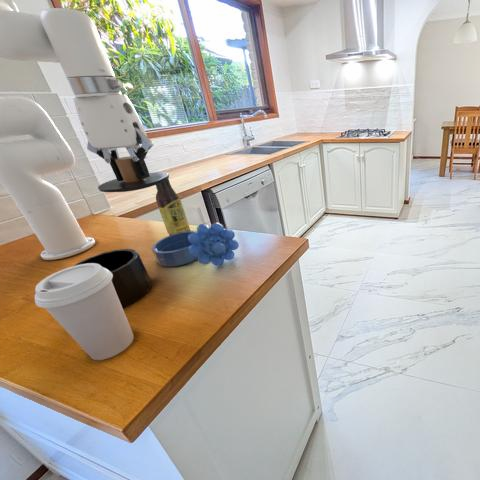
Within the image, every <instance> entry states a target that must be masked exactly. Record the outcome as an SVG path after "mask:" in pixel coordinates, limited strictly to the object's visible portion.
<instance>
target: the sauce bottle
mask: <svg viewBox="0 0 480 480" xmlns="http://www.w3.org/2000/svg"><path fill="white" fill-rule="evenodd" d="M161 172H162V173H167V172H166V171H164V172H163V171H161ZM155 188H156V194H155V201H156V204H157V207H158V210H159V213H160V216H161V218H162V221H163V224H164V227H165V229H166V232H167V234H168V236H170V235H173V234H176V233H180V232H185V231H191V228H190V224H189V222H188V218H187V214H186V212H185V210H184V206H183V204H182V200H181V198H180V196H179V195H178V194H177V192H176V191H175V190H174V188H173V187H172V185H171V182H170V178H168V179H167V180H165V181H163V182H161V183H158V184H156V185H155Z"/></svg>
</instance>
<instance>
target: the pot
mask: <svg viewBox="0 0 480 480" xmlns="http://www.w3.org/2000/svg"><path fill="white" fill-rule="evenodd" d="M87 263H96V264H99V265H101V266H102V267H103V268H106V269H107V270H109V271H110V272H111V273H112V274H113V278H112V280H111V281H112V283H113V286H114V288H115V291H116V293H117V296H118V298H119V301H120V303H121V306H122V308H123V309H125V308H127V307H130V306H131V305H134V304H135V303H138V302H139V301H140V300H142V299H143V298H144V297H146V295H148V294H149V292H150V291H151V290H152V288H153V282H152V279H151V277H150V275H149V273H148V271H147V269H146V267H145V264H144V262H143V260H142V258H141V255H140V254H139V252H138V251H137V250H136V249H131V248H119V249H114V250H109V251H105V252H101V253H98V254H96V255H95V254H94V255H92V256H89V257H88V258H85V259H84V260H81V261H79V262H77V263H75V264H74V265H73V266H76V265H80V264H87Z"/></svg>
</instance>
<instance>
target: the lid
mask: <svg viewBox="0 0 480 480" xmlns="http://www.w3.org/2000/svg"><path fill="white" fill-rule="evenodd" d="M115 162H116V164H117V166H118V169H119V171H120V173H121V176H122V178H123V181H118V180H117V178H114V179H111V180H108V181H105V182H103V183H101V184H99V185H98V187H97V188H98V190H99V192H102V193H125V192H126V193H127V192H132V191H133V192H134V191H139V190H140V191H141V190H144V189H147V188H151V187H154V186H156V184H158V183H161V182H163V181H165V180H167V179H170V175H169V173H168V172H166V173H162V172H163V171H161V172H158V171H157V172H149V175H150V176H149V177H147V178H145V179H143V180H139V179H138V178H137V175H136V173H135V170H134V168H133V166H132V162H134V160H133V159H132V157H131V156H130V155H129V156H123V157H119V158H118V159H115Z"/></svg>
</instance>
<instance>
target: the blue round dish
mask: <svg viewBox="0 0 480 480" xmlns="http://www.w3.org/2000/svg"><path fill="white" fill-rule="evenodd" d="M191 233H198V232H197V230H190V231H185V232H180V233H176V234H173V235H170V236H169V235H167V236H165V237H163V238H161V239H159V240H157V241H156V242H155V243H154V244H152V247H151V251H152V254H153V255H154V258H155V260H156V262H157V263H158V264H159V265H160V266H164V267H174V268H175V267H181V266H185V265H189V264H191V263H193V262H195V261H198V256H193V255H191V254H190V253H189V247H190V246H191V245H194V244H191V243H190V242H189V241H188V236H189V234H191ZM198 234H199V233H198Z"/></svg>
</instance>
